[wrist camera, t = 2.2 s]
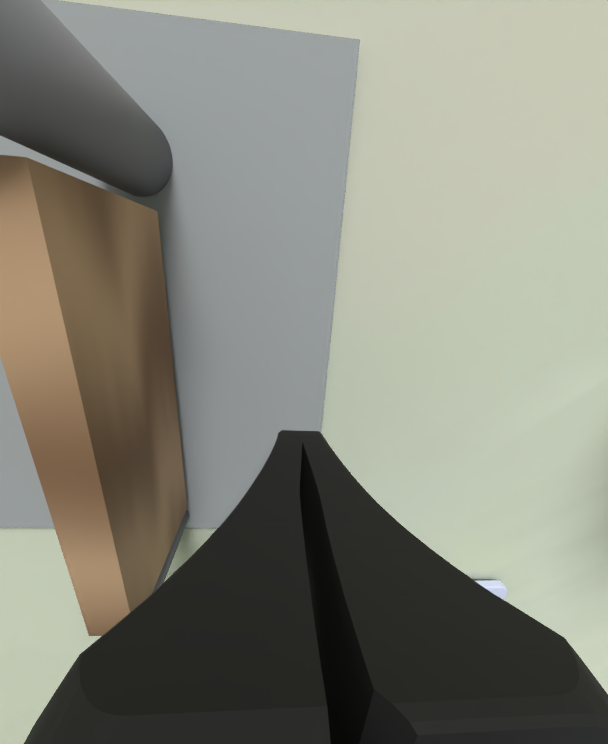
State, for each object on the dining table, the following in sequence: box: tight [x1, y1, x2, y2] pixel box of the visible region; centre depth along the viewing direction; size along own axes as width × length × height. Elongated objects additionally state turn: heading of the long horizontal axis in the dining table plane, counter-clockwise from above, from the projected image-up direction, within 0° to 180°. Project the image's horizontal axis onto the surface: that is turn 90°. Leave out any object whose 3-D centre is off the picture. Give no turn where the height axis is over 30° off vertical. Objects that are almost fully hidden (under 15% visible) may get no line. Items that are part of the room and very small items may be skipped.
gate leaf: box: [0, 155, 187, 636], centre depth 8 cm, size 11×1×4 cm, turn 176°
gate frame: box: [0, 0, 360, 593], centre depth 7 cm, size 17×17×6 cm
